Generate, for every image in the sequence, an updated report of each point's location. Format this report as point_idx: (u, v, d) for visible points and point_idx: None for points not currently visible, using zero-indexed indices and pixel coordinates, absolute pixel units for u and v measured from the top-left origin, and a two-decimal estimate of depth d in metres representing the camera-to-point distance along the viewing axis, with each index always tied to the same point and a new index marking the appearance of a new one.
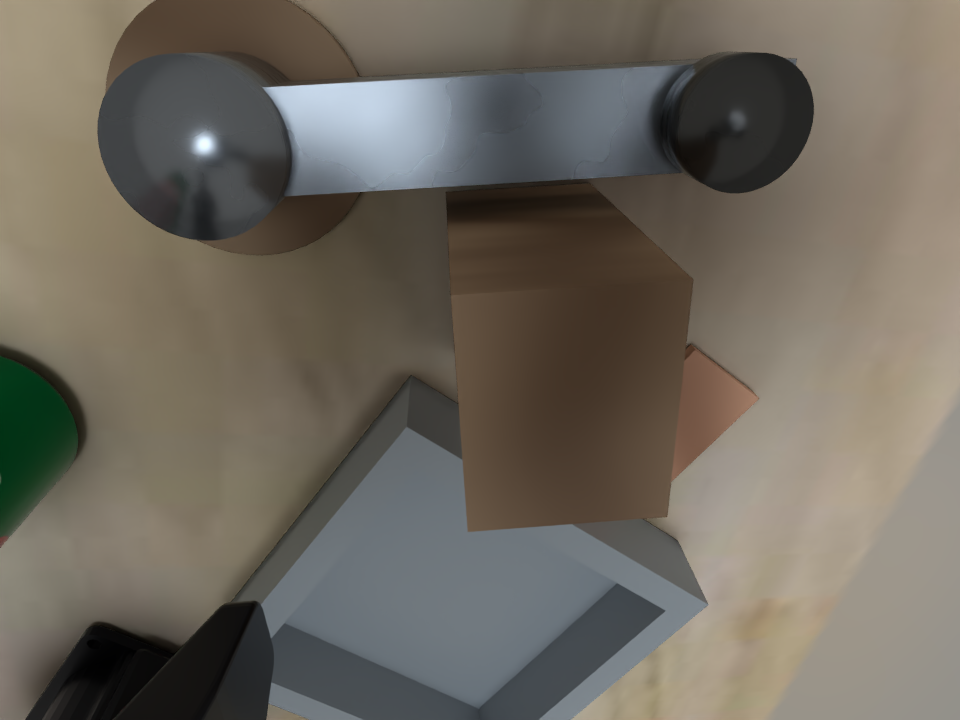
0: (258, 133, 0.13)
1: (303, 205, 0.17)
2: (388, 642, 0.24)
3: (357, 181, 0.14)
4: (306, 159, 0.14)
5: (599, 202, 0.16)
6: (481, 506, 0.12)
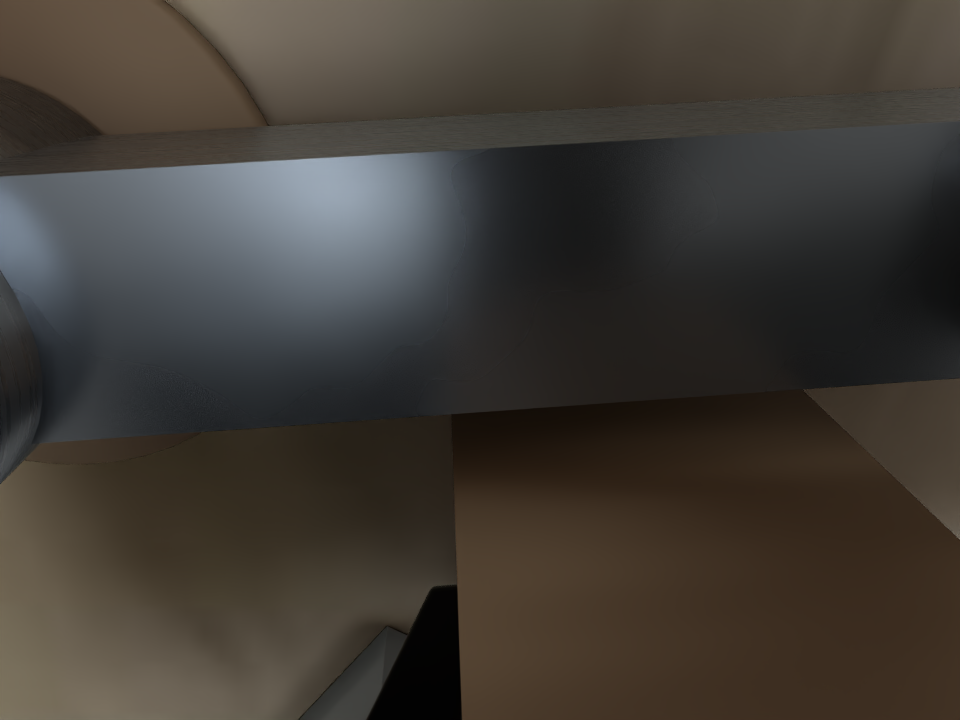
0: None
1: None
2: None
3: (222, 407, 0.05)
4: (78, 360, 0.05)
5: (789, 401, 0.07)
6: None
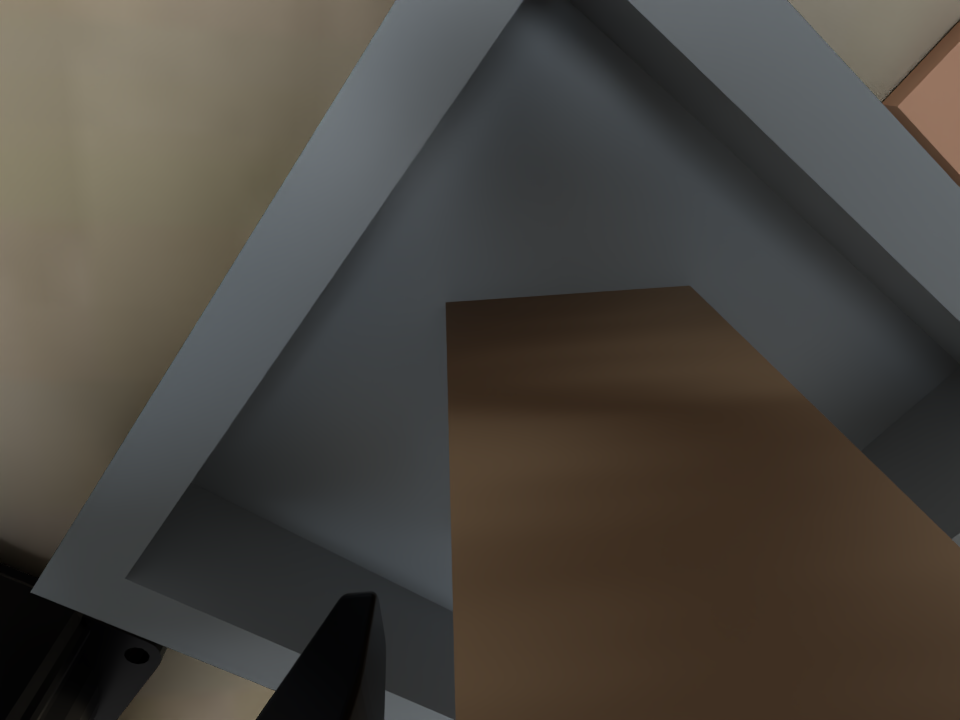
0: None
1: None
2: (436, 546, 0.13)
3: None
4: None
5: (732, 346, 0.08)
6: None
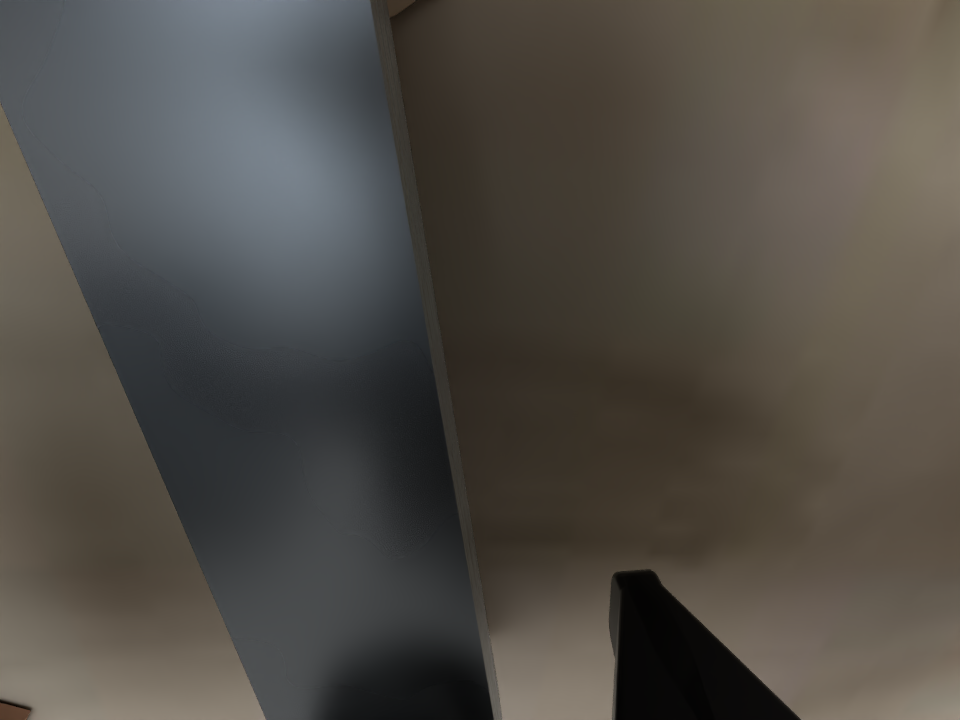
0: None
1: None
2: None
3: (23, 59, 0.04)
4: None
5: None
6: None
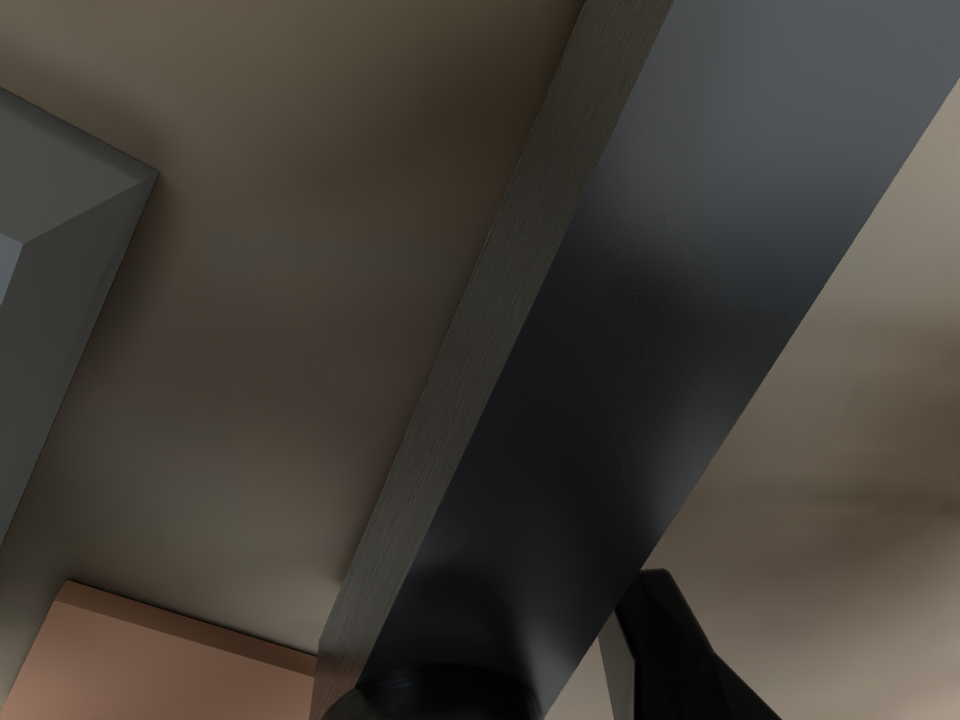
0: None
1: None
2: None
3: None
4: None
5: None
6: None
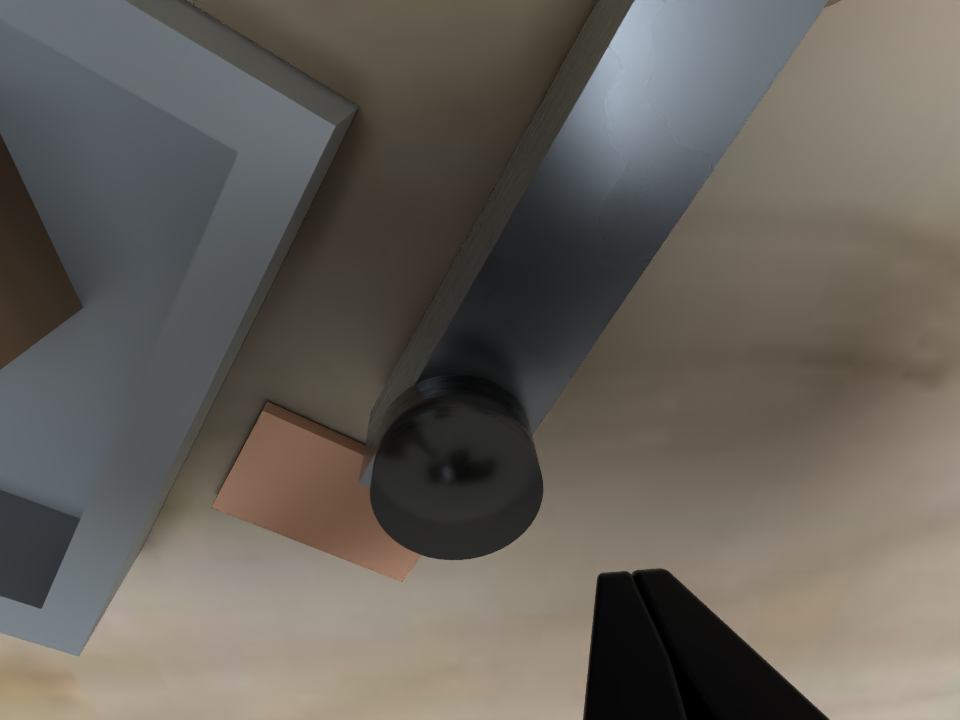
0: None
1: None
2: None
3: None
4: None
5: (3, 346, 0.10)
6: None
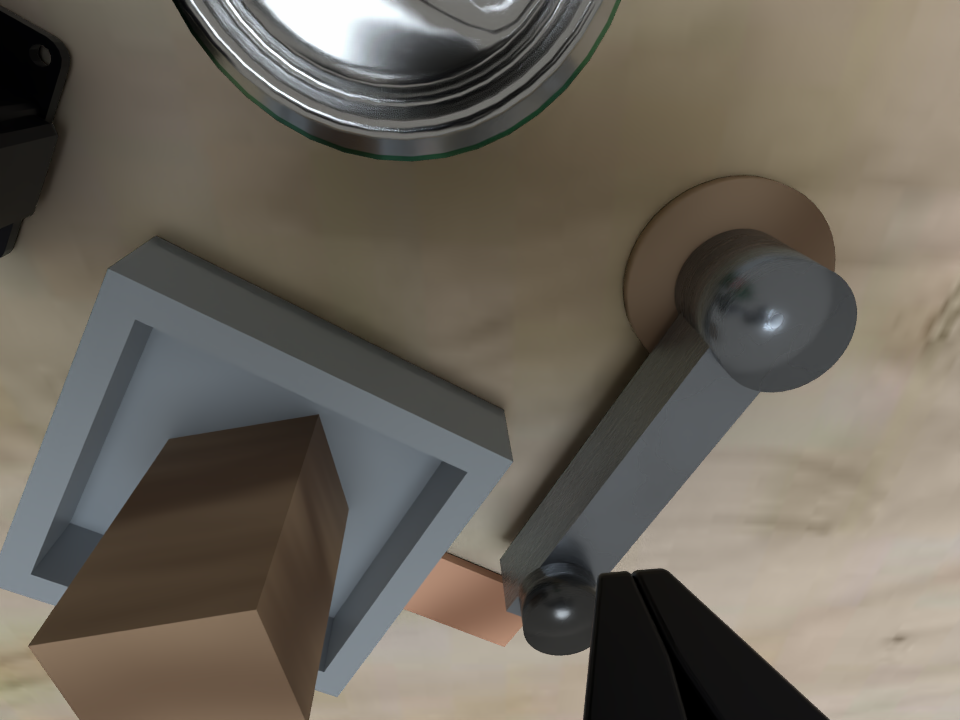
0: (761, 377, 0.17)
1: None
2: (157, 425, 0.21)
3: (679, 397, 0.18)
4: (716, 376, 0.18)
5: (338, 550, 0.20)
6: (62, 651, 0.14)
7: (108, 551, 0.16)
